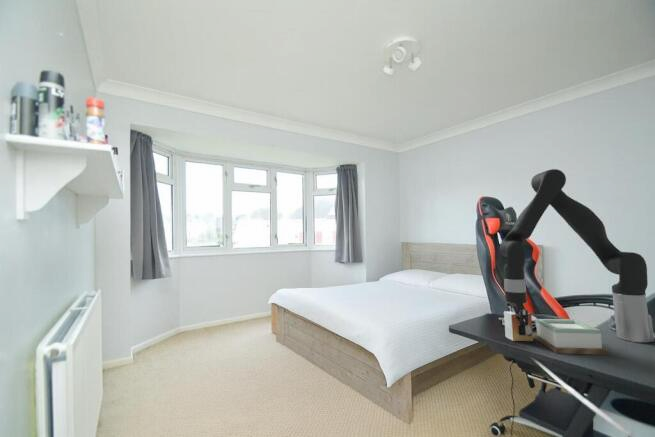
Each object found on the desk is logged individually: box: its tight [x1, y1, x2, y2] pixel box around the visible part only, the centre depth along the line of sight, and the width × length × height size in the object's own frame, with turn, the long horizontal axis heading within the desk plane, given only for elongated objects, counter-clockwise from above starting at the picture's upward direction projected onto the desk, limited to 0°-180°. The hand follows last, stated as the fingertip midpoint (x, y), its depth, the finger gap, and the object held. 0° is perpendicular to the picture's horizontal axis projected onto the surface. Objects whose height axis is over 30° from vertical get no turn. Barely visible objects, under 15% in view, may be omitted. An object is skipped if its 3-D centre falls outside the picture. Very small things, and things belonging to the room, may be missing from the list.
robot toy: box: [498, 314, 538, 330], centre depth 137 cm, size 12×4×15 cm
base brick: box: [536, 318, 603, 348], centre depth 112 cm, size 14×14×6 cm
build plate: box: [533, 333, 610, 356], centre depth 112 cm, size 16×17×2 cm
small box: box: [503, 310, 534, 342], centre depth 121 cm, size 8×6×10 cm
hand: (518, 332), depth 121 cm, fingers closed on small box, 6 cm apart
